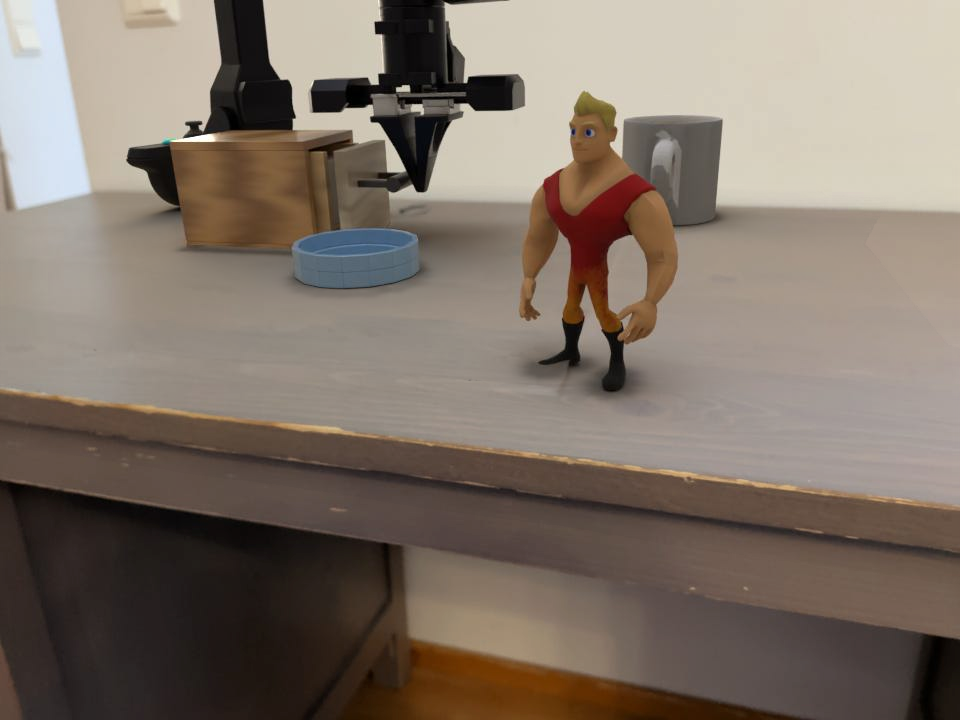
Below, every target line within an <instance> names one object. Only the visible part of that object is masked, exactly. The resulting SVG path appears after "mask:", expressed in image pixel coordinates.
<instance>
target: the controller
mask: <svg viewBox="0 0 960 720" xmlns="http://www.w3.org/2000/svg"><path fill="white" fill-rule="evenodd" d="M184 125H185V126H186V127H189V130H188V131H186V133H184V135H183V137H182V138H177V139H176V138H168V139H164V140H163V141H162V142H161V143H160V142H159V143H154V144H147V145H138V146H131V147H128V150H127V155H126V159H125V161H126V163H127V164H128V165H129V166H131V167H132V168H136V169H140V170H142V171H145V172H146V175H147V178H148V180H149V183H150V185H151V187H152V189H153V191H154V192H155V193H156V195H157V196H158V197H159V198H161V200H163V201H165V202H166V203H168V204H169V205H173V206H176V207H180V202H179V196H178V190H177V184H176V178H175V172H174V166H173V160H172V154H171V149H170V143H169V142H170V141H174V140H180V139H186V138H191V137H197V136H202V133H203V131H204V130H202V129H200V126H202V125H203V121H202V120H188V121H185V122H184Z"/></svg>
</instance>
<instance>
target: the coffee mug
mask: <svg viewBox="0 0 960 720" xmlns="http://www.w3.org/2000/svg"><path fill="white" fill-rule="evenodd" d="M723 123H724V119H723V117H720V116H712V115H698V114H697V115H696V114H695V115H694V114H663V115H645V116H643V115H642V116H641V115H640V116H633V117H627V118H624V119H623V127H622V131H623V132H622V153H621V158H622V159H623V160H624V161H625V163H626V164H627V165H628V167H629V168H630V169H631V170H632V171H633V172H634V173H635V174H638V175H639V176H640V177H642V178H643V179H644V180H646V181H647V182H649V183H650V184H651V185H653V186H654V187H656V191H657V192H658V193H659V194H660V195H661V196H662V197H663V199H664V202H665V204H666V206H667V208H668V211H669V214H670V217H671V221H672V225H673V226H691V225H699V224H703V223H708V222H711V221H713V220H714V219H715V217H716V209H717V196H718V185H719V184H718V183H719V172H720V171H719V170H720V160H721V149H722V138H723V137H722V135H723Z"/></svg>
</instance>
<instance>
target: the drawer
mask: <svg viewBox="0 0 960 720" xmlns="http://www.w3.org/2000/svg"><path fill="white" fill-rule="evenodd" d="M308 152H309V161H310V171H311V180H312V190H313V199H314V209H315V218H316V228H317V234H318V233H322V232H329V231H336V230H343V229H359V228H384V229H385V228H386V227H387V226H390V225H391V224H392V222H391V219H392V218H391V207H390V205H391V203H390V193H392V194H395V193H397V192H400V191H402V190H404V189H407V188H408V187H410V186H413V184H412V182H411V180H410V178H409V176H408V174H407V172H406V170H405V171H388V162H387V149H386V139H372V140H368V141H365V142H361V143H359V142H353V143H332V144H328V145H324V146H320V147H316V148H313V149H309V150H308ZM327 156H334V164H335V175H336V186H337V196H338V207H339V218H340V223H337V224H335V225H334V220H333V209H332V199H331V189H330V178H329V168H328V158H327Z"/></svg>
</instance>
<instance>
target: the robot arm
mask: <svg viewBox="0 0 960 720" xmlns="http://www.w3.org/2000/svg"><path fill="white" fill-rule="evenodd" d="M507 1H510V0H377V7H378V20H377V21H376V20H375V21H374V22H373V24H374V35H379V37H380V48H381V49H380V50H381V64H382V72H381V73H377V79H378V80H377V81H378V84H372V83H371V81H370V79H369V77H368V76H363V77H331V78H320V79H314V80H313V81H312V82H311V84H310V86H309V90H308V92H307V97H308V98H307V99H308V107H309V113H311V114H328V113H330V114H332V113H333V114H336V113H337V114H338V113H343V111H344V110H346V109H367V108H368V106H372V115H371V116H369V121H370V123H372V124H379V126H380V127H381V129H382V130H383V132H384V133H385V135H386V136H387V138H388V140H389V141H390V143H391V145H392V146H393V148H394V150H395V151H396V154H397V155H398V157H399V160H400V161H401V163H402V165H403V167H404V170H405V171H406V172H407V174H408V176H409V178H410V180H411V182H412V184H413V185H412V187H413V188H414V190H415V192H416V193H418V194H419V193H421V194H423V193H426V192H428V190H429V186H430V182H431V179H432V175H433V172H434V167H435V165H436V161H437V157H438V154H439V151H440V148H441V144H442V141H443V139H444V137H445V135H446V133H447V130H448V128H449V127H450V125H451V124H452V122H453V121H455V120H458V119H462V118H464V113H465V111H463V110H461V109H462V106H461V105H469V107H470V108H472V110H473V111H474V112H509V111H516V110H519V109H521V108H524V107H526V85H525V82H524V80H523V78H522V77H521V76H520V74H518V73H505V74H502V73H501V74H500V73H499V74H479V75H478V74H476V75H470V76H467V80H466V82H465V69H466V68H465V66H466V58H465V56H464V55H463V54H462V52H461V51H460V50H459V48H458V47H457V46H456V45H455V44H454V43H453V41H452V38H451V28H450V21H449V20H447V19H446V4H448V5H451V6H458V5H459V6H460V5H470V4H471V5H472V4H482V3H496V2H507ZM213 6H214V14H215V23H216V30H217V38H218V46H219V52H220V53H219V55H220V66H219V69H218V70H217V73H216V75H215V77H214V80H213V82H212V85H211V87H210V89H209V101H210V102H209V105H210V115H209V117H208V119H207V122H206V124H205V126H204V129H203V130H202V131H203V133H202V136H203V135H208V134H214V133H220V132H225V131H231V130H294V120H296V119H297V116H296V112H295V109H294V104H293V86H292V83H291V81H290V79H288V78H287V79H285V78H284V79H281V77H280V76H279V74H278V73H277V71H276V70H275V68H274V67H273V66H272V64H271V60H270V54H269V52H270V51H269V43H268V33H267V24H266V14H265V13H266V12H265V5H264V0H213ZM403 86H409V87H408V88H409V91H397V89H398V88H403ZM413 105H422V109H423V114H422V111H412V107H413Z"/></svg>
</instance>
